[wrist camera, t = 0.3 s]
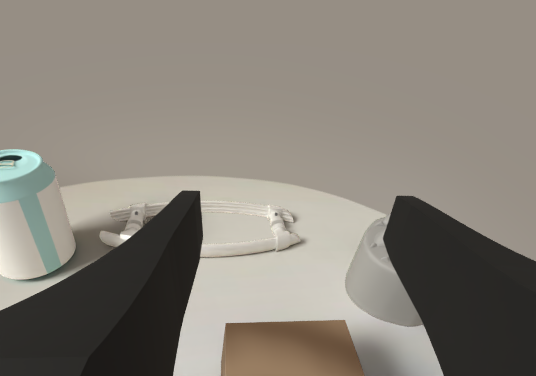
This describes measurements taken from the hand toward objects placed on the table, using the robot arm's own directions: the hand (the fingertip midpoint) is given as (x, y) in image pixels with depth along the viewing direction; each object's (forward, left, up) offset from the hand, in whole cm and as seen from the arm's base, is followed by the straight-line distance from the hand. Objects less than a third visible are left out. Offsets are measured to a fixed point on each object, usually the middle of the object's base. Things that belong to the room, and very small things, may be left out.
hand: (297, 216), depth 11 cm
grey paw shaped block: (+13, -19, -22) cm, 32 cm away
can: (+17, +22, -22) cm, 35 cm away
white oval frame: (+22, +4, -22) cm, 31 cm away
